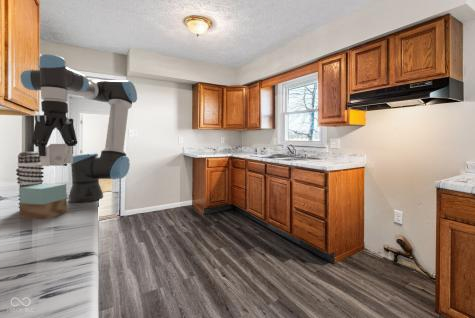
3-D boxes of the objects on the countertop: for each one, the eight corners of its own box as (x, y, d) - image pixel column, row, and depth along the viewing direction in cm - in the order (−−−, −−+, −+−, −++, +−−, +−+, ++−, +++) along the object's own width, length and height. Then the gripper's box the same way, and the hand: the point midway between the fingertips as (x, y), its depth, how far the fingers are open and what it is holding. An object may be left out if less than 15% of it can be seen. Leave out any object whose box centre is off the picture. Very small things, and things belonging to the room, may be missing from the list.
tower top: (45, 197, 105) (45, 183, 105) (66, 198, 103) (66, 184, 103) (19, 203, 95) (19, 187, 95) (42, 204, 93) (41, 188, 93)
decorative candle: (50, 208, 109) (47, 151, 107) (24, 213, 101) (21, 152, 99) (39, 205, 113) (36, 151, 111) (14, 210, 105) (10, 152, 103)
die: (48, 168, 83) (68, 146, 85) (29, 156, 84) (49, 133, 86) (64, 174, 91) (82, 153, 93) (46, 162, 92) (65, 141, 94)
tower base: (44, 211, 105) (44, 197, 105) (66, 212, 104) (66, 198, 104) (20, 218, 95) (19, 203, 95) (44, 220, 94) (43, 204, 93)
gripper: (69, 105, 98) (72, 161, 100) (13, 95, 77) (18, 167, 78) (86, 105, 98) (89, 162, 99) (35, 95, 76) (39, 167, 77)
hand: (57, 164), depth 89 cm, fingers closed on die, 9 cm apart
